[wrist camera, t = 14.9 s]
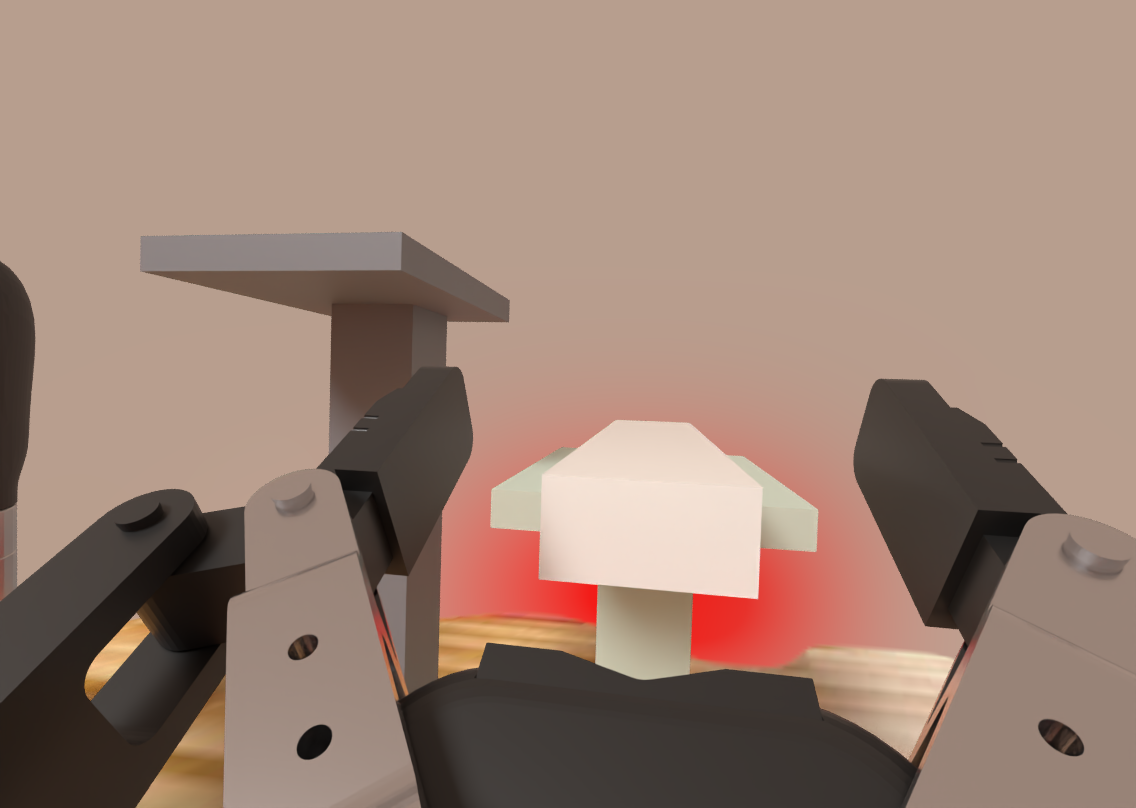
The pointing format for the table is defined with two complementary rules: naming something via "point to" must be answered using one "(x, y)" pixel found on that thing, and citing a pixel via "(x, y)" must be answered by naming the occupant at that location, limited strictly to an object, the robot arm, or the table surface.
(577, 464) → the pale pink beam
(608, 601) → the low shelf
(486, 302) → the high shelf
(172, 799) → the table surface
